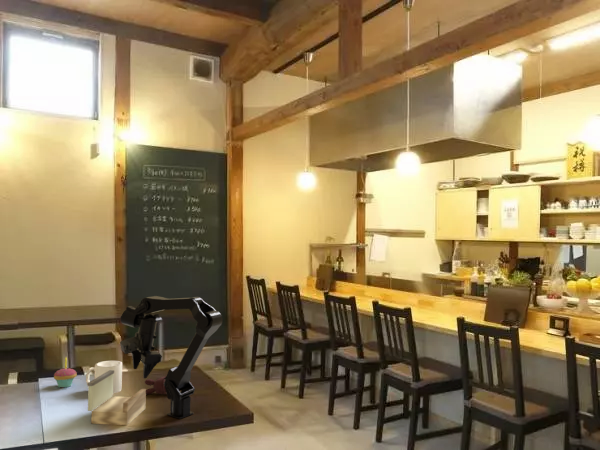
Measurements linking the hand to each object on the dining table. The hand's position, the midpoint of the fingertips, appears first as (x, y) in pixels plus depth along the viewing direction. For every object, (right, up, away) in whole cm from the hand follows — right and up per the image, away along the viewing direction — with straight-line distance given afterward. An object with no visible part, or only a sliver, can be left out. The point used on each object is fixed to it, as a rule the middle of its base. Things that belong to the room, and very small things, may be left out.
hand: (139, 373), depth 181 cm
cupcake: (-38, -13, +24) cm, 47 cm away
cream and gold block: (-4, -12, -9) cm, 15 cm away
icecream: (+4, -13, +16) cm, 21 cm away
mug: (-20, -13, +19) cm, 31 cm away
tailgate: (-10, -8, -9) cm, 15 cm away
